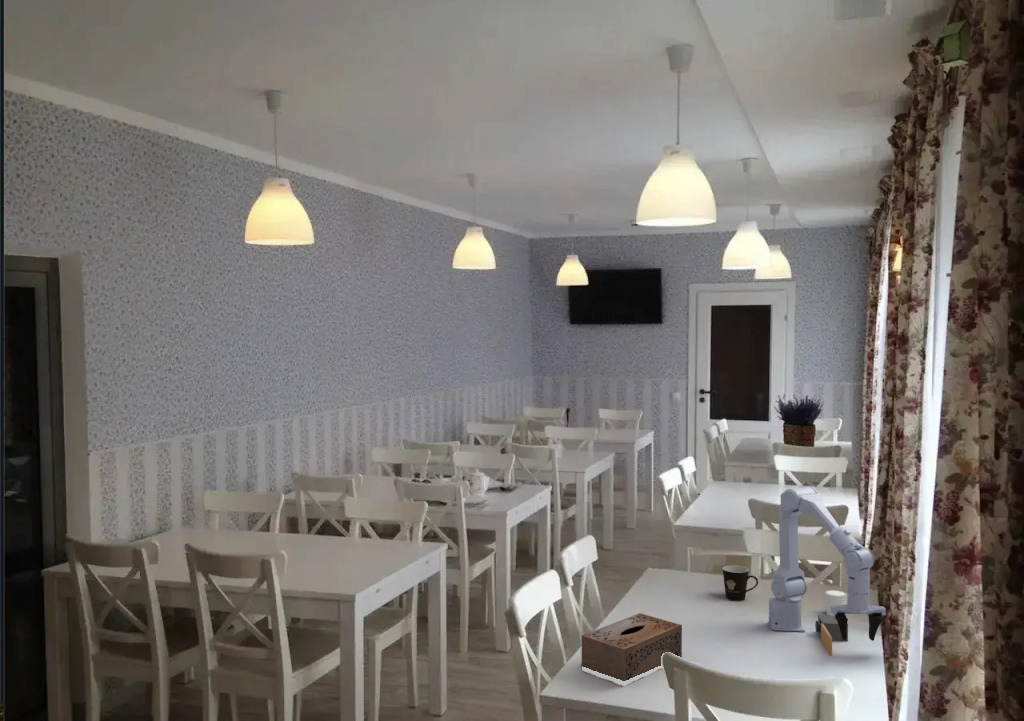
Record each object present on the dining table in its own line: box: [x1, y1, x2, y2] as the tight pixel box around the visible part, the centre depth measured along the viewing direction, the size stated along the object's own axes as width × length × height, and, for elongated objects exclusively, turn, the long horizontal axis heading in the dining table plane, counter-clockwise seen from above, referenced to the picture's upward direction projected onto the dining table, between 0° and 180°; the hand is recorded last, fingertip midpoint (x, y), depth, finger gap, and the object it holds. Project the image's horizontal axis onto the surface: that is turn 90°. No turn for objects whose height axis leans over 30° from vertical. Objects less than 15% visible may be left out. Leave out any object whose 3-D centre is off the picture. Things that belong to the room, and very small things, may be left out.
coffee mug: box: [722, 565, 759, 602], centre depth 294 cm, size 12×9×10 cm
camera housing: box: [814, 614, 849, 642], centre depth 259 cm, size 8×7×6 cm
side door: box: [820, 623, 833, 656], centre depth 250 cm, size 12×1×5 cm, turn 172°
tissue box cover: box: [581, 613, 683, 681], centre depth 238 cm, size 26×14×10 cm, turn 135°
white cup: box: [824, 589, 848, 616], centre depth 278 cm, size 7×7×7 cm
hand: (857, 639), depth 245 cm, fingers open, 7 cm apart
